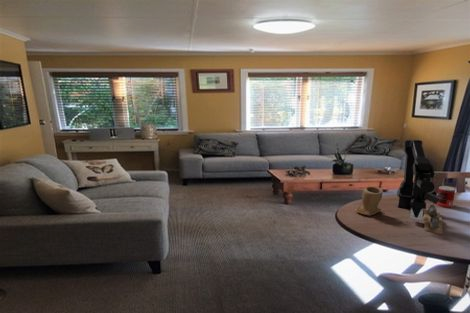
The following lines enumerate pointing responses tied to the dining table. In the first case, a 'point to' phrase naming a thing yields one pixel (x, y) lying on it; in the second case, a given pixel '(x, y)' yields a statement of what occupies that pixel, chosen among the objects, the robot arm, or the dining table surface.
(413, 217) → the block
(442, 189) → the canned food
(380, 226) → the dining table surface
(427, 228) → the shaft bench
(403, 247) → the dining table surface
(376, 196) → the stone cup
